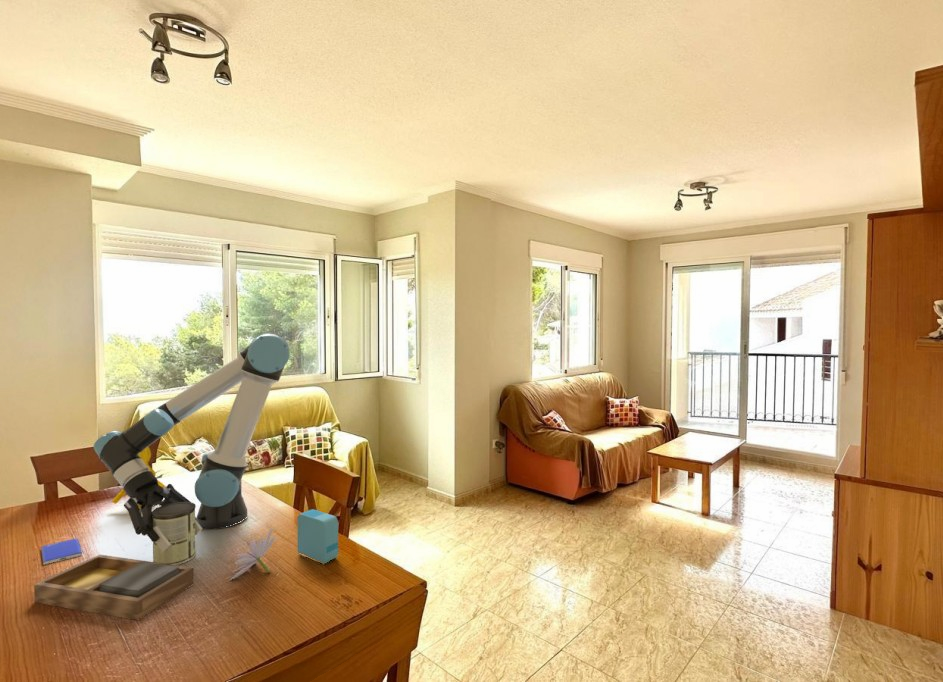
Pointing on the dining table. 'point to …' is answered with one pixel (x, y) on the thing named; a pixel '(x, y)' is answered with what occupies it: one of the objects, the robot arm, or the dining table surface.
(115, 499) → the figure statuette
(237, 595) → the dining table surface
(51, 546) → the hard drive
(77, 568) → the wooden tray
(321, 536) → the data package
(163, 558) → the coffee can
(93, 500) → the dining table surface
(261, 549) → the water lily
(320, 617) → the dining table surface
